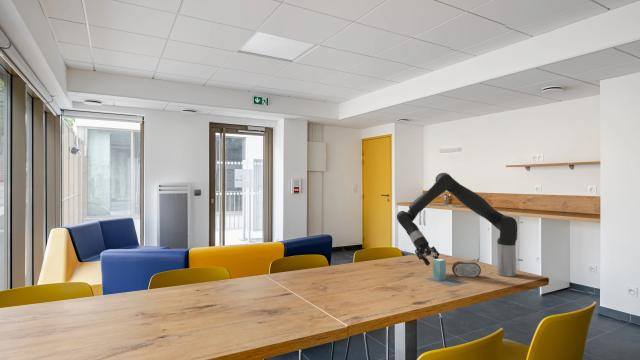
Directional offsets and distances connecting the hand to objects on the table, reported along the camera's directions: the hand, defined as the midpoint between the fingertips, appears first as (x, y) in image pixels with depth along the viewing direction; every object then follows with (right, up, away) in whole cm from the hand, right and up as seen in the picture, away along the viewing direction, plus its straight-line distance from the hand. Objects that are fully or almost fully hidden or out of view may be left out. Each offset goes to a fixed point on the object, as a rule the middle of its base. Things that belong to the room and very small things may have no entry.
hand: (434, 264), depth 198 cm
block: (+2, -7, -3) cm, 8 cm away
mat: (+4, -8, -7) cm, 11 cm away
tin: (+19, -8, +4) cm, 21 cm away
